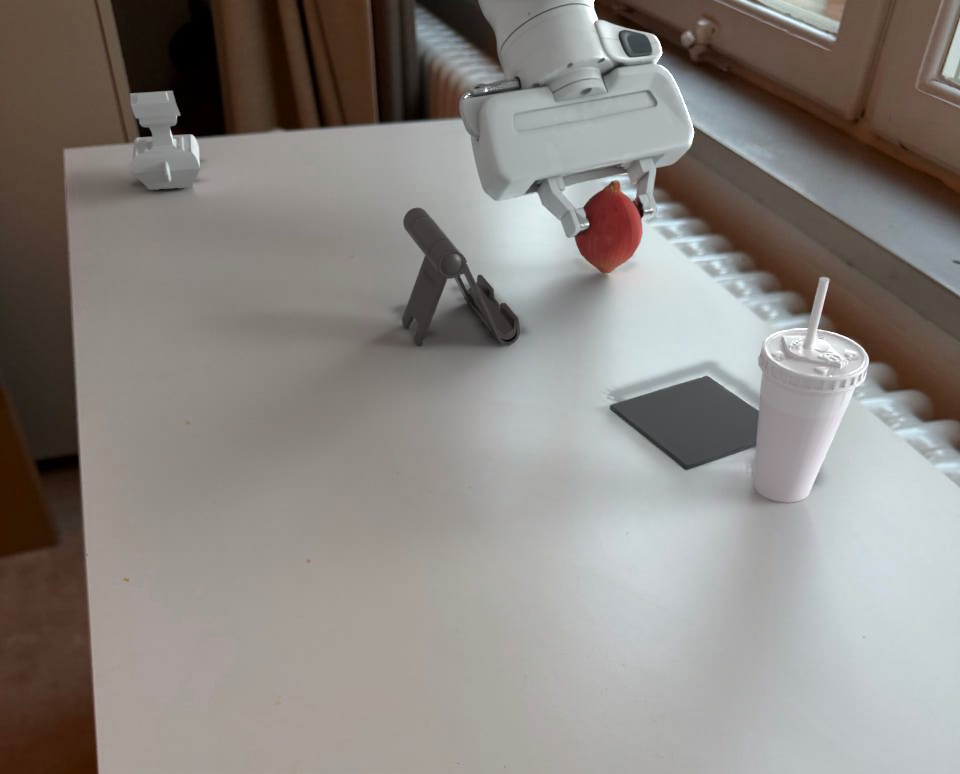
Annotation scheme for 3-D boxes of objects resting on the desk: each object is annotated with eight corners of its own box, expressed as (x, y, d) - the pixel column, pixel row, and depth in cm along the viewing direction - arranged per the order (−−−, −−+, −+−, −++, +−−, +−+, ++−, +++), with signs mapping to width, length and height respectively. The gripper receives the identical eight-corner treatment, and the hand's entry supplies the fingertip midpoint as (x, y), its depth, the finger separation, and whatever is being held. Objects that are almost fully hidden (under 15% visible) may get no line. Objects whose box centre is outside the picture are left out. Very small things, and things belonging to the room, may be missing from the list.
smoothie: (770, 448, 72) (817, 249, 62) (850, 488, 68) (913, 284, 58) (712, 484, 68) (752, 280, 59) (793, 527, 65) (850, 319, 55)
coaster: (706, 379, 78) (707, 374, 78) (787, 435, 73) (788, 430, 72) (609, 409, 75) (609, 404, 75) (686, 470, 69) (687, 465, 69)
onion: (564, 280, 91) (570, 187, 85) (582, 254, 95) (589, 164, 89) (628, 290, 89) (638, 196, 84) (644, 264, 93) (654, 172, 88)
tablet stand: (520, 345, 82) (524, 241, 76) (426, 361, 80) (423, 255, 74) (482, 298, 88) (483, 198, 82) (394, 312, 86) (388, 211, 80)
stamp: (205, 197, 104) (190, 107, 98) (137, 202, 103) (118, 112, 97) (202, 166, 111) (187, 80, 105) (138, 171, 109) (120, 84, 104)
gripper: (465, 65, 81) (525, 232, 82) (673, 33, 89) (726, 186, 89) (439, 110, 87) (496, 266, 88) (636, 77, 95) (687, 220, 95)
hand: (613, 225), depth 89 cm, fingers closed on onion, 6 cm apart
